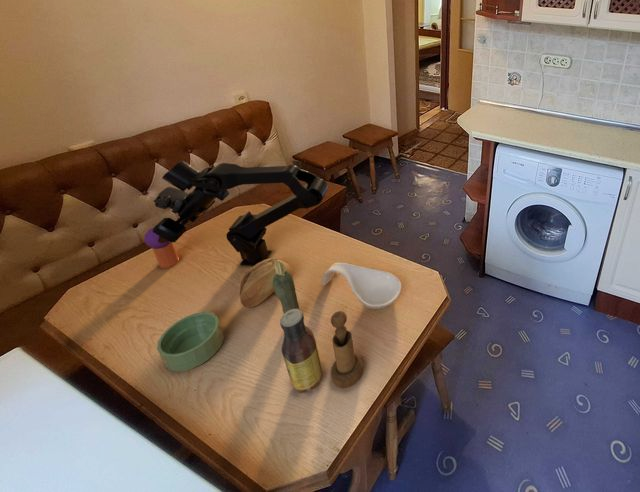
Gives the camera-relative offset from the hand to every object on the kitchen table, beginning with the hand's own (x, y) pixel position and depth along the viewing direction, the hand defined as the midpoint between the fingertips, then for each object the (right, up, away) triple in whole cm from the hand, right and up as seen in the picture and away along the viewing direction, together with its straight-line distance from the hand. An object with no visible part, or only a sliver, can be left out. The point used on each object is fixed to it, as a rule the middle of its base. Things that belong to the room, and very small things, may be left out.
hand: (170, 231), depth 104 cm
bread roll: (+31, -15, -5) cm, 35 cm away
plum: (-4, -2, 0) cm, 4 cm away
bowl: (+23, -22, -21) cm, 38 cm away
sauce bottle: (+52, -26, -27) cm, 64 cm away
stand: (-4, -10, +4) cm, 12 cm away
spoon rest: (+57, -16, -5) cm, 59 cm away
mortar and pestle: (+60, -25, -25) cm, 70 cm away
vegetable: (+43, -20, -14) cm, 49 cm away
